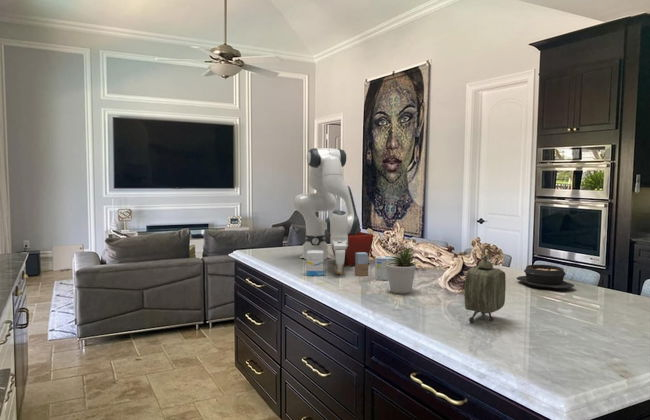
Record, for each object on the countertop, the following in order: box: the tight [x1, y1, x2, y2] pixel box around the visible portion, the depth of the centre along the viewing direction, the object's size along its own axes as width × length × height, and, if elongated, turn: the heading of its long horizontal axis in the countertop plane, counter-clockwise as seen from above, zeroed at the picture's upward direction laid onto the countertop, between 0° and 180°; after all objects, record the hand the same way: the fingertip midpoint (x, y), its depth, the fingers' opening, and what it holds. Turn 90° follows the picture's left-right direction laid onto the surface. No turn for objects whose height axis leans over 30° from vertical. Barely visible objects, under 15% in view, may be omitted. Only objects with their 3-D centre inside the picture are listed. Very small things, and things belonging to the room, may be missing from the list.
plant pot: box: [328, 231, 374, 267], centre depth 268 cm, size 19×19×17 cm
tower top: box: [355, 252, 369, 265], centre depth 237 cm, size 5×5×5 cm
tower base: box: [354, 263, 369, 277], centre depth 238 cm, size 6×6×6 cm
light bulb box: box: [374, 255, 398, 281], centre depth 228 cm, size 11×7×11 cm, turn 84°
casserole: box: [516, 264, 575, 290], centre depth 212 cm, size 25×19×8 cm
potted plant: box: [386, 244, 419, 295], centre depth 203 cm, size 13×14×20 cm
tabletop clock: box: [463, 247, 507, 323], centre depth 162 cm, size 14×9×25 cm, turn 141°
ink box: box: [306, 250, 325, 277], centre depth 239 cm, size 8×8×12 cm
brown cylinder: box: [334, 263, 345, 275], centre depth 241 cm, size 4×4×5 cm
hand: (339, 270), depth 241 cm, fingers open, 6 cm apart
